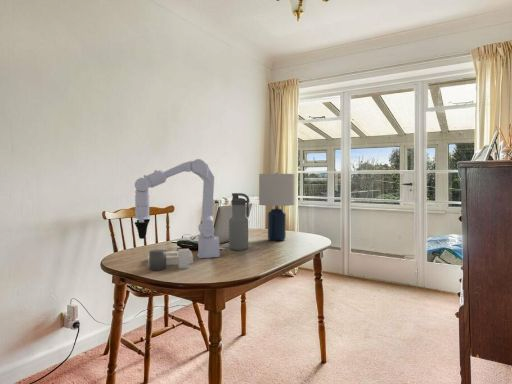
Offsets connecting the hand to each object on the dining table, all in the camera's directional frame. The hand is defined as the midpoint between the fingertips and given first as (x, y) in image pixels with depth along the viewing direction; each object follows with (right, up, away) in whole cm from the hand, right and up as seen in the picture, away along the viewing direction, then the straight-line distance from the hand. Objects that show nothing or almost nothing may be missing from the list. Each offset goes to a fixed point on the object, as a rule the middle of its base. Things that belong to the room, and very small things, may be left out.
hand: (142, 237), depth 147 cm
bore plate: (+13, -10, -2) cm, 16 cm away
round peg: (+11, -11, -14) cm, 21 cm away
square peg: (+20, -11, -12) cm, 26 cm away
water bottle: (+41, -9, +25) cm, 49 cm away
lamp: (+61, -8, +49) cm, 79 cm away
